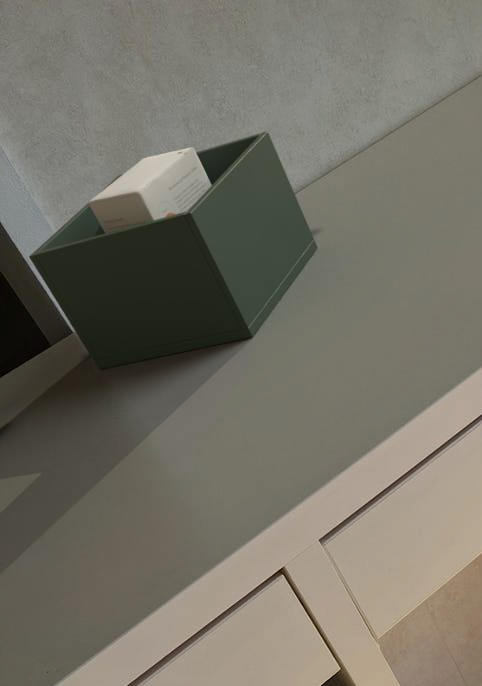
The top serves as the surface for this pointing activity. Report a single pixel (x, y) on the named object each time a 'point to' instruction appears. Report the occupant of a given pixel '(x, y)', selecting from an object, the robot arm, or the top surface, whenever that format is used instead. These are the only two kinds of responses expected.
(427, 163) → the top surface
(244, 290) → the bin
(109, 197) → the small box
